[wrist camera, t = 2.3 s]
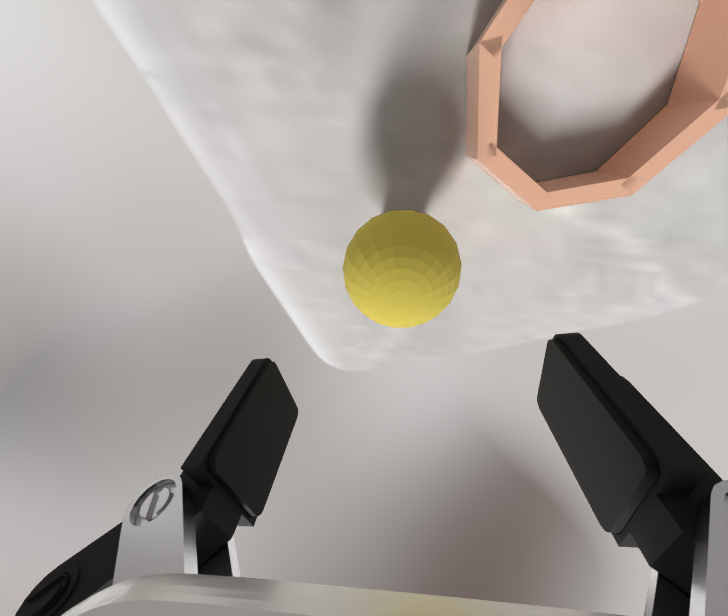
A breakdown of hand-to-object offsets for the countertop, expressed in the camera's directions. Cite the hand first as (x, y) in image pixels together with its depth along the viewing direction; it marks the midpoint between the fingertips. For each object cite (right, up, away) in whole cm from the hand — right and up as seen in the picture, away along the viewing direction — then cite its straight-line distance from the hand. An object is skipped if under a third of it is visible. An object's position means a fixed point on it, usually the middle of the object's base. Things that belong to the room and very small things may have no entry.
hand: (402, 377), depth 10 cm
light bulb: (+2, +8, +12) cm, 15 cm away
